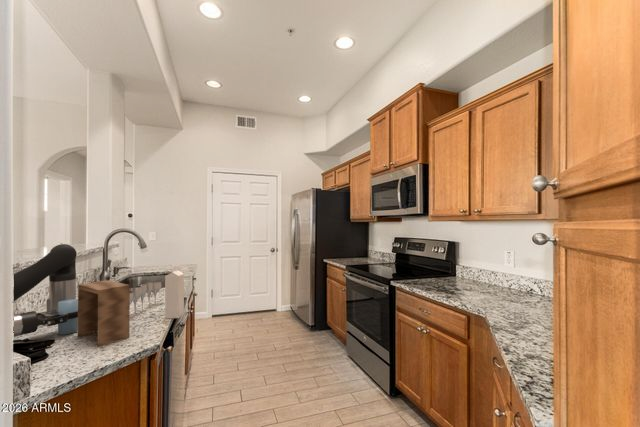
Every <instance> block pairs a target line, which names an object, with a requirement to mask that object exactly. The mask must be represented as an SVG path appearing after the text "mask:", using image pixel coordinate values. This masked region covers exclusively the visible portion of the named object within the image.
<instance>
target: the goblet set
mask: <svg viewBox="0 0 640 427" xmlns="http://www.w3.org/2000/svg"><path fill="white" fill-rule="evenodd" d="M161 289H162V282H161V281H160V280H154V281H146V282H145V283H139V284H138V285H134V286H130V305H131V304H132V303H133V305H134V313H133V314H129V321H132V320H134V318H136V317H139V315H140V314H141V313H136V312H137V311H136V309H137V302H138V301H139V299H140V300H141V310H139V311H138V312H144V313H146V311H147V310H151V308H152V309H154V307H157V306H161V304H160V303H156V300H157V294H158V293H159V292H160V291H161ZM152 294H153V297H154V303H153V304H150V305H151V306H147V307H145V308H146V309H144V308H143V307H144V306H143V305H144V298H145V297H146V295H147V297H148V298H147V299H148V302H150V300H151V299H150V298H151V295H152ZM140 316H141V315H140Z"/></svg>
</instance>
